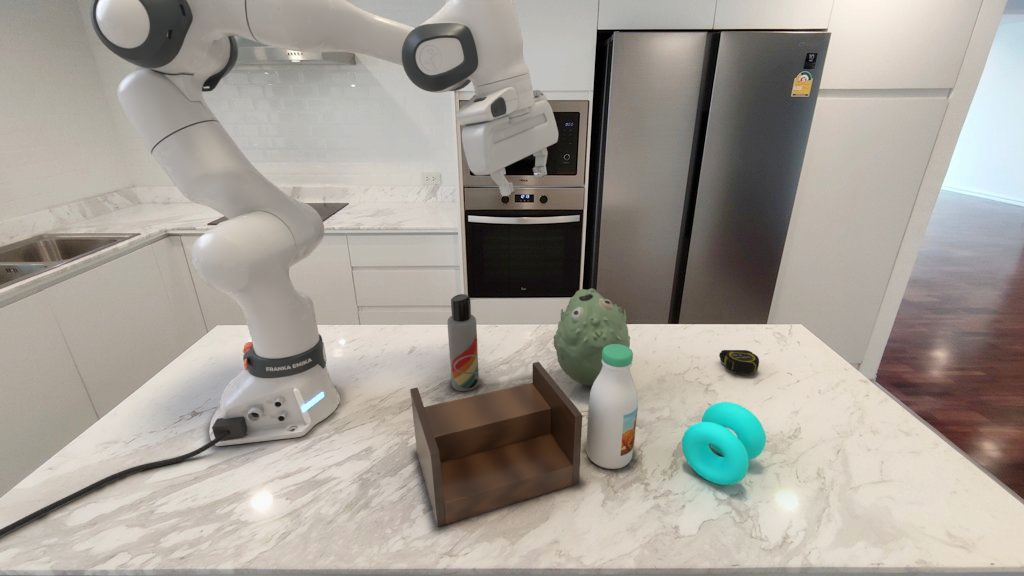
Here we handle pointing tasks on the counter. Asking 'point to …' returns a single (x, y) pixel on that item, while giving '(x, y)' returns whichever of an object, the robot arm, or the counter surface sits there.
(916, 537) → the counter surface
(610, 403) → the milk bottle
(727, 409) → the turquoise yo-yo
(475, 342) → the lotion bottle
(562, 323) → the green monster figurine
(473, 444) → the step rack
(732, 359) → the tape measure
